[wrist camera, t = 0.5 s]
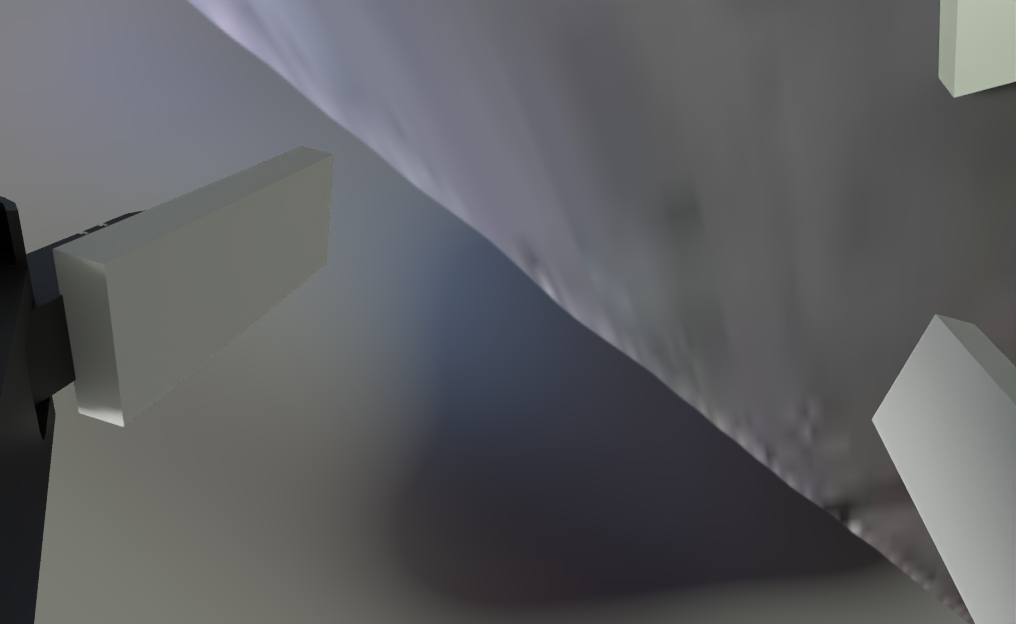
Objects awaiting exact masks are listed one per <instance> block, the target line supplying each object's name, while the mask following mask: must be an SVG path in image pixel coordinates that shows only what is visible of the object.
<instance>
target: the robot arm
mask: <svg viewBox="0 0 1016 624" xmlns="http://www.w3.org/2000/svg"><path fill="white" fill-rule="evenodd" d="M333 158H334V155H333V154H330V153H326V152H323V151H319V150H315V149H311V148H307V147H303V146H301V147H298V148H296V149H294V150H291V151H289V152H286V153H284V154H281V155H279V156H277V157H274V158H272V159H269V160H267V161H264V162H262V163H260V164H257V165H255V166H252V167H250V168H248V169H246V170H243V171H240V172H238V173H235V174H233V175H231V176H228V177H226V178H223V179H221V180H218V181H216V182H214V183H211V184H209V185H206V186H204V187H201V188H199V189H197V190H194V191H192V192H189V193H187V194H185V195H182V196H180V197H177V198H175V199H172V200H170V201H168V202H165V203H163V204H160V205H158V206H156V207H153V208H151V209H148V210H145V211H139V212H134V213H128V214H125V215H122V216H120V217H118V218H115V219H112V220H110V221H108V222H105V223H103V225H102V226H95V227H93V228H90V229H88V230H85V231H83V234H76V235H73V236H71V237H68V238H65V239H63V240H61V241H58V242H56V243H53V244H51V245H48V246H46V247H43V248H41V249H38V250H36V251H33V252H31V253H28V254H26V252H25V247H24V241H23V236H22V230H21V225H20V220H19V214H18V210H17V207H16V204H15V203H14V202H12V201H10V200H8V199H6V198H4V197H1V196H0V624H34V619H35V609H36V599H37V589H38V580H39V570H40V561H41V551H42V541H43V531H44V521H45V511H46V502H47V492H48V482H49V472H50V463H51V453H52V444H53V433H54V424H55V409H54V403H53V398H52V395H53V394H55V393H56V392H57V391H59V390H61V389H62V388H64V387H65V386H67V385H68V384H70V383H71V382H73V381H74V385H75V392H76V398H77V404H78V410H79V413H81V414H85V415H88V416H91V417H94V418H97V419H100V420H103V421H107V422H110V423H113V424H116V425H119V426H122V427H125V426H126V425H127V424H129V423H130V422H131V421H132V420H134V419H135V418H136V417H137V416H139V415H140V414H141V413H142V412H144V411H145V410H146V409H147V408H149V407H150V406H151V405H152V404H154V403H155V402H156V401H157V400H159V399H160V398H161V397H162V396H164V395H165V394H166V393H167V392H168V391H170V390H171V389H172V388H174V387H175V386H176V385H177V384H178V383H180V382H181V381H182V380H184V379H185V378H186V377H187V376H189V375H190V374H191V373H192V372H194V371H195V370H196V369H197V368H199V367H200V366H201V365H202V364H204V363H205V362H206V361H207V360H209V359H210V358H211V357H212V356H213V355H215V354H216V353H217V352H219V351H220V350H221V349H222V348H223V347H225V346H226V345H227V344H228V343H230V342H231V341H232V340H233V339H235V338H236V337H237V336H238V335H240V334H241V333H242V332H243V331H245V330H246V329H247V328H248V327H250V326H251V325H252V324H253V323H255V322H256V321H257V320H258V319H260V318H261V317H262V316H263V315H265V314H266V313H267V312H268V311H270V310H271V309H272V308H273V307H275V306H276V305H277V304H278V303H280V302H281V301H282V300H283V299H285V298H286V297H287V296H288V295H290V294H291V293H292V292H293V291H295V290H296V289H297V288H298V287H300V286H301V285H302V284H303V283H304V282H306V281H307V280H308V279H310V278H311V277H312V276H313V275H315V274H316V273H317V272H318V271H320V270H321V269H322V268H323V267H325V266H326V264H327V263H326V262H327V248H328V234H329V219H330V204H331V189H332V188H331V187H332V173H333ZM872 421H873V423H874V425H875V427H876V429H877V431H878V433H879V435H880V437H881V439H882V441H883V443H884V445H885V446H886V448H887V450H888V452H889V454H890V456H891V458H892V460H893V462H894V464H895V466H896V468H897V470H898V472H899V474H900V476H901V478H902V480H903V482H904V484H905V486H906V488H907V490H908V492H909V494H910V496H911V498H912V500H913V502H914V504H915V506H916V508H917V510H918V512H919V514H920V516H921V518H922V520H923V522H924V523H925V525H926V527H927V529H928V531H929V533H930V535H931V537H932V539H933V541H934V543H935V545H936V547H937V549H938V551H939V553H940V555H941V557H942V559H943V561H944V563H945V565H946V567H947V569H948V571H949V573H950V575H951V577H952V579H953V581H954V583H955V585H956V587H957V589H958V591H959V593H960V595H961V597H962V599H963V601H964V602H965V604H966V606H967V608H968V610H969V612H970V614H971V616H972V618H973V620H974V622H975V624H1016V367H1015V366H1014V365H1013V364H1012V363H1011V362H1010V361H1009V360H1008V359H1007V358H1006V357H1005V355H1004V354H1003V353H1002V352H1001V351H1000V350H999V349H998V348H997V347H996V346H995V345H994V344H993V343H992V342H991V341H990V340H989V339H988V338H987V337H986V336H985V335H984V334H983V333H982V332H981V331H980V330H979V329H978V328H977V327H976V326H975V325H974V324H971V323H968V322H964V321H960V320H956V319H952V318H949V317H945V316H941V315H937V314H935V316H934V317H933V319H932V321H931V322H930V324H929V326H928V327H927V329H926V331H925V332H924V334H923V336H922V337H921V339H920V341H919V342H918V344H917V346H916V347H915V349H914V351H913V352H912V354H911V355H910V357H909V359H908V360H907V362H906V364H905V365H904V367H903V369H902V370H901V372H900V374H899V375H898V377H897V379H896V380H895V382H894V384H893V385H892V387H891V389H890V390H889V392H888V394H887V395H886V397H885V399H884V400H883V402H882V404H881V405H880V407H879V409H878V410H877V412H876V413H875V415H874V417H873V418H872Z"/></svg>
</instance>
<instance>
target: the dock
mask: <svg viewBox="0 0 1016 624" xmlns="http://www.w3.org/2000/svg"><path fill="white" fill-rule="evenodd" d="M938 77H939V79H940V80H941V81H942V83H943V84H944V85H945V87H946V88H947V89H948V91H949V92H950V93H951V95H952V96H953V97H958V96H962V95H966V94H970V93H974V92H977V91H981V90H985V89H989V88H993V87H997V86H1001V85H1004V84H1008V83H1012V82H1016V0H940V35H939V74H938Z"/></svg>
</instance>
